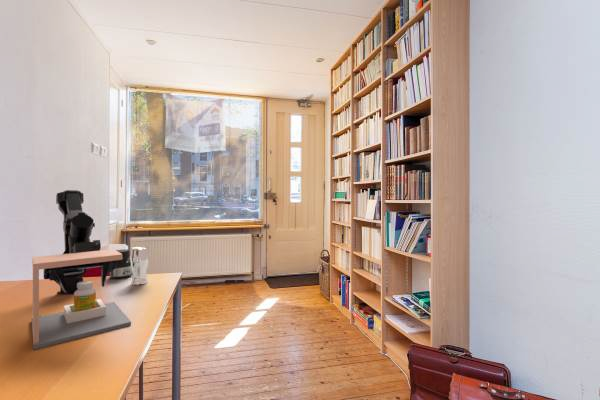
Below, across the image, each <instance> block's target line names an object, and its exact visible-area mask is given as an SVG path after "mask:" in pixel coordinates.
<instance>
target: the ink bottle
mask: <svg viewBox="0 0 600 400" xmlns="http://www.w3.org/2000/svg"><path fill="white" fill-rule="evenodd" d="M115 250H116V251H118V252H119V253H121V254H122V260H118V262H117V266H116V269H114V270H112V272H109V278H110V279H114V280H118V279H119V280H121V279H125V278H129V277H128V276H130V277H132V276H133V275H132V269H131V263H130V253H131V249H126V248H125V249H115Z"/></svg>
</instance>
